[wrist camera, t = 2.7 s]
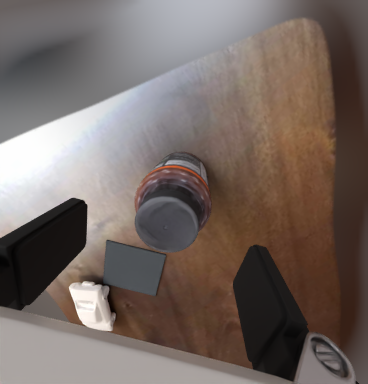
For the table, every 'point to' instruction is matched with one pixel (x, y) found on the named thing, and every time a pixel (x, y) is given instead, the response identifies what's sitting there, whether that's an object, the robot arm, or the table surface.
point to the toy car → (93, 305)
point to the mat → (132, 268)
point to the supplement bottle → (173, 203)
